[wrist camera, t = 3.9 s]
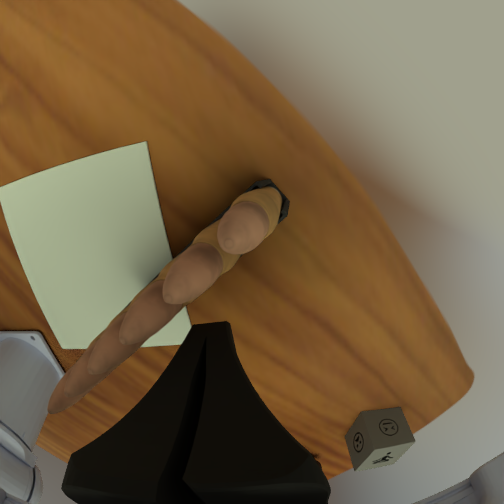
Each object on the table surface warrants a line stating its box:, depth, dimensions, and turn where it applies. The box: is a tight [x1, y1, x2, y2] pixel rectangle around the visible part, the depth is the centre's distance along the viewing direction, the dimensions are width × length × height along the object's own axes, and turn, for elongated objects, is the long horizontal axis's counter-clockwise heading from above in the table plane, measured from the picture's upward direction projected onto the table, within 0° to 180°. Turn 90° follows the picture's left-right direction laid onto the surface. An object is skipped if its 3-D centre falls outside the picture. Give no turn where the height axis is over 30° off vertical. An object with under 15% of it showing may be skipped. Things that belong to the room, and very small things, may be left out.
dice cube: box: [345, 407, 415, 471], centre depth 26 cm, size 5×5×5 cm
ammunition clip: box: [47, 179, 290, 414], centre depth 13 cm, size 11×2×12 cm, turn 132°
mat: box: [0, 141, 192, 349], centre depth 19 cm, size 12×14×1 cm
